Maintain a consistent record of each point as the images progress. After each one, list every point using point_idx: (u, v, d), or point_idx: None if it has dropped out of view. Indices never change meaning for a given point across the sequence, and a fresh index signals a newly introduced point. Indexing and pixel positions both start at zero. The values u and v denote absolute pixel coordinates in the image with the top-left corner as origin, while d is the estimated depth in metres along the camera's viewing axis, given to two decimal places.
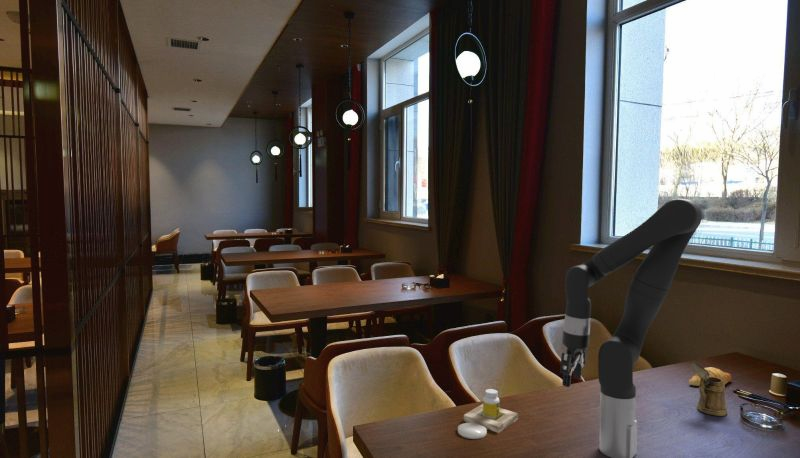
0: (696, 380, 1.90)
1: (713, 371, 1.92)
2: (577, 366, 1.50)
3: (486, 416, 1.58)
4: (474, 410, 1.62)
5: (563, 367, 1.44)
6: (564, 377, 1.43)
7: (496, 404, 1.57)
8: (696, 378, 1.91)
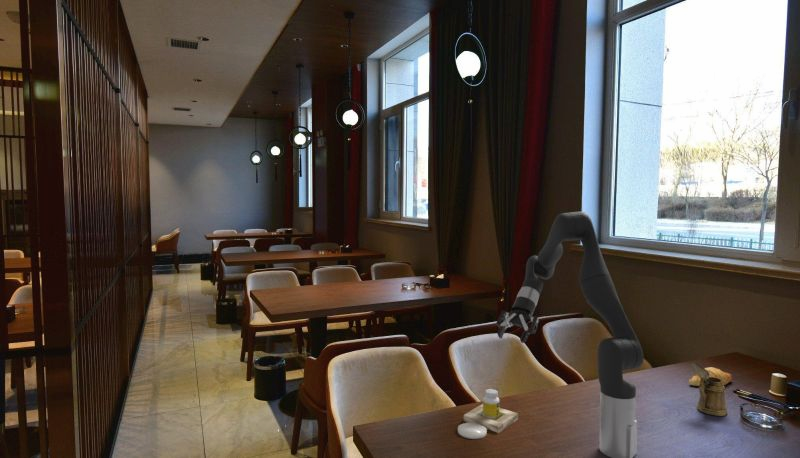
0: (696, 380, 1.90)
1: (714, 371, 1.92)
2: None
3: (486, 416, 1.58)
4: (474, 410, 1.62)
5: (505, 325, 1.75)
6: None
7: (496, 404, 1.57)
8: (696, 378, 1.91)
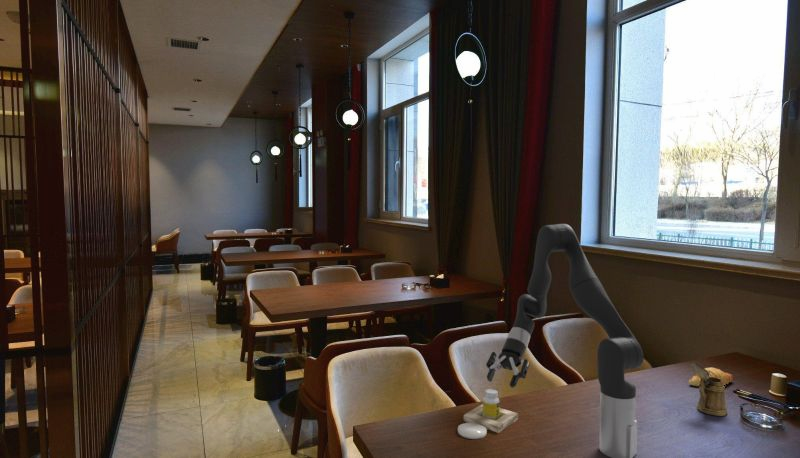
0: (696, 380, 1.90)
1: (714, 371, 1.92)
2: None
3: (486, 416, 1.58)
4: (474, 410, 1.62)
5: (495, 368, 1.70)
6: None
7: (496, 404, 1.57)
8: (696, 378, 1.91)
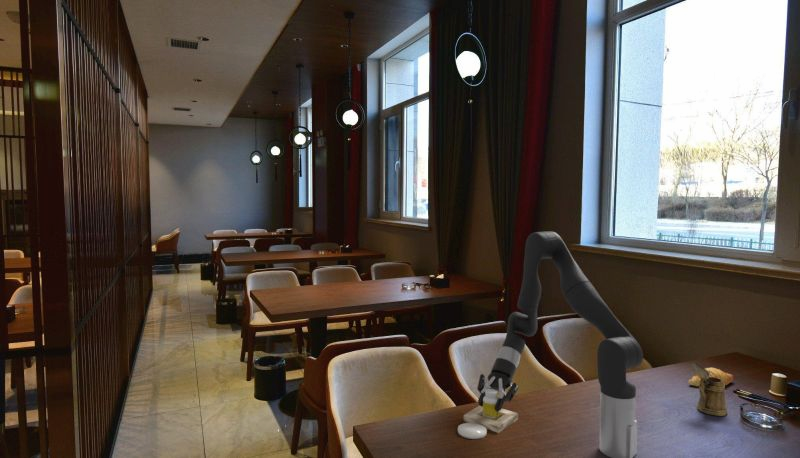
0: (696, 380, 1.90)
1: (714, 371, 1.91)
2: None
3: (486, 416, 1.58)
4: (474, 410, 1.62)
5: None
6: None
7: None
8: (696, 378, 1.91)
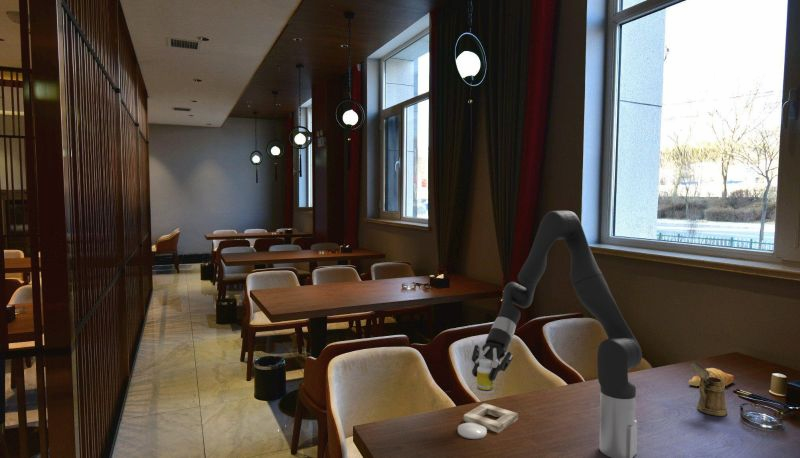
0: (696, 381, 1.90)
1: (714, 372, 1.91)
2: None
3: (480, 386, 1.54)
4: (474, 410, 1.62)
5: None
6: None
7: None
8: (696, 378, 1.90)
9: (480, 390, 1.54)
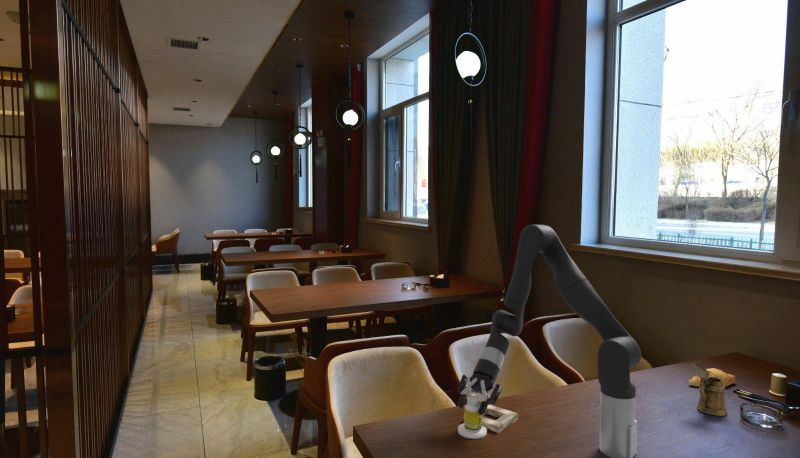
0: (696, 381, 1.90)
1: (715, 372, 1.91)
2: None
3: (467, 425, 1.49)
4: None
5: (466, 393, 1.55)
6: None
7: None
8: (696, 378, 1.90)
9: (467, 429, 1.49)
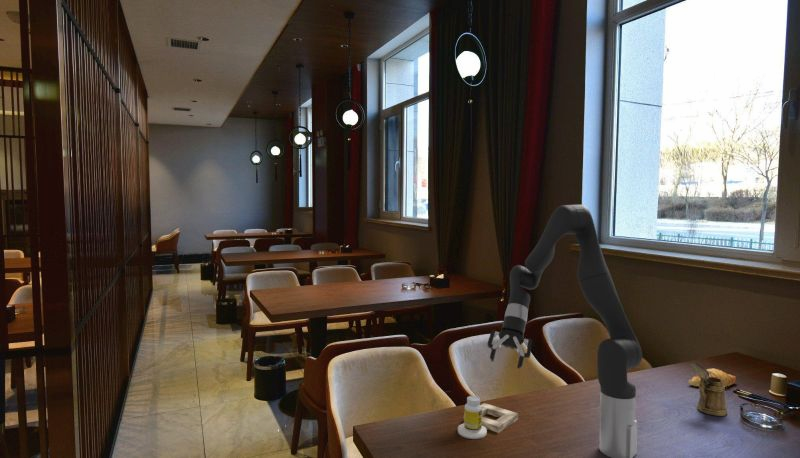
0: (696, 381, 1.90)
1: (715, 372, 1.90)
2: None
3: (467, 425, 1.49)
4: None
5: None
6: None
7: (478, 412, 1.48)
8: (696, 379, 1.90)
9: (467, 429, 1.49)
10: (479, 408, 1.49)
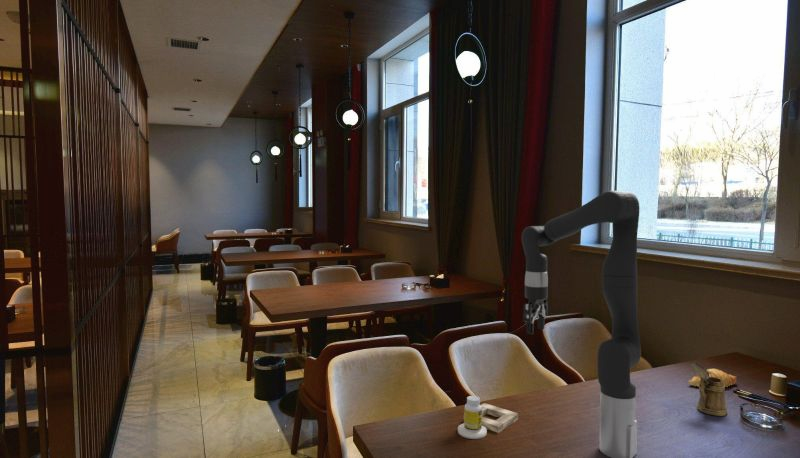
0: (696, 381, 1.90)
1: (715, 372, 1.90)
2: (540, 317, 1.68)
3: (467, 425, 1.49)
4: None
5: (526, 317, 1.62)
6: (527, 325, 1.61)
7: (478, 412, 1.48)
8: (696, 379, 1.90)
9: (467, 429, 1.49)
10: (479, 408, 1.49)
